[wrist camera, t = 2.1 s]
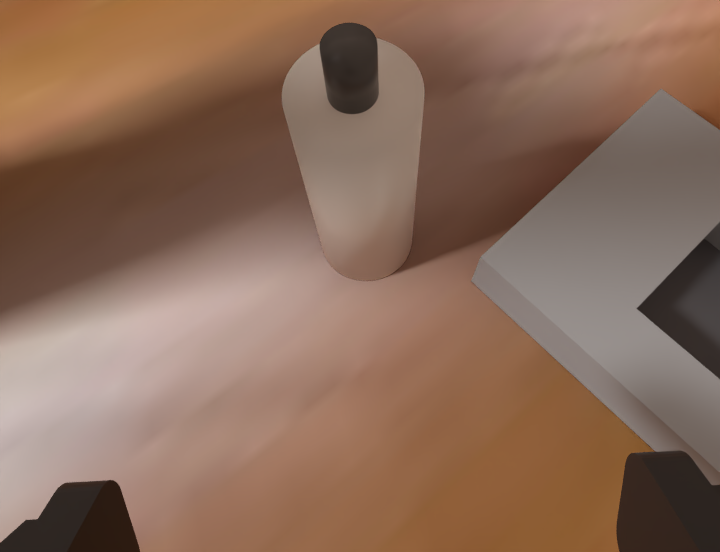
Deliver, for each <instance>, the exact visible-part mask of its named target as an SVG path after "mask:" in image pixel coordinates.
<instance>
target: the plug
mask: <svg viewBox="0 0 720 552" xmlns="http://www.w3.org/2000/svg"><path fill="white" fill-rule="evenodd" d="M424 97H425V88H424V82H423V78H422V75H421V72H420V70H419V69H418V67H417V65H416V64H415V62H414V61H413V60H412V58H411V57H410V56H409V55H408V54H407V53H405V52H404V51H403V50H402V49H400V48H399V47H397V46H395V45H394V44H392V43H390V42H387V41H385V40H382V39H379V38H376V37H375V35H374V33H373V32H372V31H371V30H370V29H368V28H367V27H365V26H363V25H360V24H357V23H343V24H339V25H336V26H334V27H332V28H331V29H329V30H328V31H327V32H326V33H325V34H324V35H323V37H322V39H321V41H320V44H318V45H316V46H314V47H313V48H311V49H309V50H308V51H307V52H305V53H304V54H303V55H302V56H301V57H300V58H299V59H298V60H297V61H296V62H295V63H294V64H293V66H292V67H291V68H290V70H289V72H288V74H287V76H286V78H285V81H284V84H283V89H282V106H283V110H284V114H285V118H286V121H287V125H288V128H289V132H290V135H291V139H292V143H293V146H294V150H295V153H296V157H297V160H298V164H299V168H300V171H301V175H302V178H303V182H304V185H305V189H306V193H307V196H308V200H309V203H310V207H311V211H312V214H313V218H314V221H315V225H316V228H317V232H318V236H319V239H320V243H321V246H322V250H323V253H324V255H325V258H326V259H327V261H328V263H329V264H330V265H331V266H332V267H333V268H334V269H335V270H336V271H337V272H339V273H340V274H342V275H344V276H345V277H348V278H350V279H354V280H359V281H373V280H378V279H382V278H384V277H387V276H389V275H390V274H392V273H394V272H395V271H396V270H398V269H399V268H400V267H401V266H402V264H403V263H404V262H405V260H406V259H407V257H408V255H409V253H410V250H411V246H412V237H413V225H414V214H415V202H416V190H417V179H418V167H419V155H420V144H421V132H422V120H423V109H424Z"/></svg>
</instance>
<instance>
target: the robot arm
mask: <svg viewBox="0 0 720 552" xmlns="http://www.w3.org/2000/svg"><path fill="white" fill-rule="evenodd" d="M617 541H618V547H619V551H620V552H720V485H711V484H710V482H709V481H708V479H707V478H706V477H705V475H704V474H703V473H702V471H701V470H700V469H699V467H698V466H697V465H696V463H695V462H694V461H693V459H692V458H691V457H690V456H689V455H688V454H687V453H686V452H684V451H681V450H679V451H661V452H643V453H631V454H630V455H629V456H628V457H627V460H626V464H625V471H624V478H623V485H622V491H621V498H620V505H619V512H618V519H617ZM0 552H140V549H139V545H138V542H137V539H136V536H135V533H134V530H133V526H132V523H131V520H130V517H129V514H128V511H127V508H126V504H125V501H124V498H123V495H122V492H121V489H120V487H119V485H118V484H117V483H116V482H115V481H113V480H108V481H90V482H72V483H64V484H63V485H61V486H60V487H59V488H58V489H57V490H56V492H55V493H54V495H53V496H52V498H51V499H50V501H49V502H48V504H47V506H46V507H45V509H44V510H43V512H42V513H41V515H40V517H39V518H38V519H36V520H26V521H24V522H23V523H22V524H21V525H20V526H19V527H18V528H17V529H15V530H14V531H13V532H12V533H11V534H10V535H9V536H8V537H6V538H5V539H4V540H3V541H2V542H1V543H0Z"/></svg>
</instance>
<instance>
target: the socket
mask: <svg viewBox="0 0 720 552" xmlns="http://www.w3.org/2000/svg"><path fill="white" fill-rule="evenodd" d="M472 282H473V283H474V284H475V285H476V286H477V287H478V288H479V289H480V290H481V291H482V292H483V293H485V294H486V295H487V296H488V297H489V298H490V299H491V300H492V301H493V302H494V303H495V304H496V305H498V306H499V307H500V308H501V309H502V310H503V311H504V312H505V313H506V314H507V315H508V316H509V317H511V318H512V319H513V320H514V321H515V322H516V323H517V324H518V325H519V326H520V327H521V328H522V329H524V330H525V331H526V332H527V333H528V334H529V335H530V336H531V337H532V338H533V339H534V340H535V341H537V342H538V343H539V344H540V345H541V346H542V347H543V348H544V349H545V350H546V351H547V352H548V353H549V354H551V355H552V356H553V357H554V358H555V359H556V360H557V361H558V362H559V363H560V364H561V365H562V366H564V367H565V368H566V369H567V370H568V371H569V372H570V373H571V374H572V375H573V376H574V377H575V378H577V379H578V380H579V381H580V382H581V383H582V384H583V385H584V386H585V387H586V388H587V389H588V390H590V391H591V392H592V393H593V394H594V395H595V396H596V397H597V398H598V399H599V400H600V401H601V402H603V403H604V404H605V405H606V406H607V407H608V408H609V409H610V410H611V411H612V412H613V413H614V414H616V415H617V416H618V417H619V418H620V419H621V420H622V421H623V422H624V423H625V424H626V425H627V426H629V427H630V428H631V429H632V430H633V431H634V432H635V433H636V434H637V435H638V436H639V437H640V438H642V439H643V440H644V441H645V442H646V443H647V444H648V445H649V446H650V447H651V448H652V449H653V450H655V451H656V452H661V451H679V450H681V451H684V452H686V453H687V454H688V455H689V456H690V457H691V458H692V459H693V461H694V462H695V463H696V465H697V466H698V467H699V469H700V470H701V471H702V473H703V474H704V475H705V477H706V478H707V479H708V481H709V482H710V484H711V485H720V130H719V129H718V128H716V127H715V126H713V125H712V124H710V123H709V122H708V121H706V120H705V119H703V118H702V117H701V116H699V115H698V114H696V113H695V112H693V111H692V110H691V109H689V108H688V107H686V106H685V105H684V104H682V103H681V102H679V101H678V100H676V99H675V98H674V97H672V96H671V95H669V94H668V93H667V92H665V91H664V90H662V89H660V90H659V91H658V92H657V93H656V94H655V95H653V96H652V97H651V98H650V99H649V100H648V101H647V102H646V103H645V104H644V105H643V106H642V107H641V108H640V109H638V110H637V111H636V112H635V113H634V114H633V115H632V116H631V117H630V118H629V119H628V120H627V121H626V122H625V123H623V124H622V125H621V126H620V127H619V128H618V129H617V130H616V131H615V132H614V133H613V134H612V135H611V136H610V137H608V138H607V139H606V140H605V141H604V142H603V143H602V144H601V145H600V146H599V147H598V148H597V149H596V150H595V151H593V152H592V153H591V154H590V155H589V156H588V157H587V158H586V159H585V160H584V161H583V162H582V163H581V164H580V165H578V166H577V167H576V168H575V169H574V170H573V171H572V172H571V173H570V174H569V175H568V176H567V177H566V178H565V179H563V180H562V181H561V182H560V183H559V184H558V185H557V186H556V187H555V188H554V189H553V190H552V191H551V192H550V193H548V194H547V195H546V196H545V197H544V198H543V199H542V200H541V201H540V202H539V203H538V204H537V205H536V206H535V207H533V208H532V209H531V210H530V211H529V212H528V213H527V214H526V215H525V216H524V217H523V218H522V219H521V220H520V221H518V222H517V223H516V224H515V225H514V226H513V227H512V228H511V229H510V230H509V231H508V232H507V233H506V234H505V235H503V236H502V237H501V238H500V239H499V240H498V241H497V242H496V243H495V244H494V245H493V246H492V247H491V248H490V249H488V250H487V251H486V252H485V253H484V254H483V255H482V256H481V257H480V260H479V262H478V265H477V268H476V270H475V273H474V275H473V278H472Z"/></svg>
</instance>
